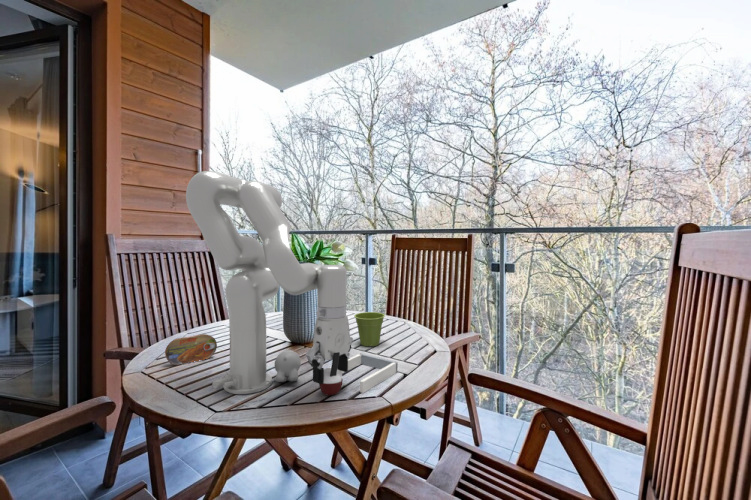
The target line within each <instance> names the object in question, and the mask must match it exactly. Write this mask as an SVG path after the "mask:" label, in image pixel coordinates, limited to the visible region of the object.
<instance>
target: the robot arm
mask: <svg viewBox="0 0 751 500" xmlns="http://www.w3.org/2000/svg"><path fill="white" fill-rule="evenodd" d="M185 201H186V205H187V208H188V211H189V213H190V215H191V217H192V219H193V221H194V222H195V223H196V225H197V226H198V229H199V230H200V232H201V234H202V237H203V239H204V241H205V243H206V245H207V247H208V249H209V251H210V253H211V255H212V257H213V259H214V261H215V263H216V264H217V265H218V267H219V268H221V269H222V270H225V271H235V270H236V271H237V270H240V272H238V273H236V274H234V275H232V276H231V277H230V278H229V279H228V281H227V283H226V285H225V300H226V304H227V309H228V319H229V321H228V322H229V323H228V326H229V370H228V371H226V372H225V375H224V376H223V378H219V379H216V380H213V382H212V385H211V386H212V387H213V389H218V388H219V389H220V387H223V389H224V391H225V392H227V393H229V394H233V395H248V394H254V393H257V392H261V391H263V390H266V389H268V387H270V386H271V385H272V384H273V377H272V376H271V375H270V374H269V373H267V316H266V311H265V308H264V305H263V302H265V301H267V300H271V299H272V298H274V297H275V296H276V295H277V294H278V292H279V289H280V288H281V289H282V290H283V291H284V292H285V293H287V294H289V295H291V296H298V295H303V294H304V293H308V292H312V291H314V290H315V291H316V290H317V291H316V292H317V299H316V302H317V305H316V309H317V310H316V312H315V314H316V316H317V317H316V319H315V323H314V329H313V330H314V331H313V339H312V340H313V343H312V345H313V346H312V347H311V348H310V349H309V350H308V351H307V352H306V353H305V357H306V358H307V362H308V363H309V365H310V367H311V368H312V382H314V383H316V384H318V385H319V384H323V383H324V369H325V368H324V367H323V366H324V364H325V361H326V360H327V361H331V360H333V354H334V353H337V352H339V353H340V355H339V362H338V370H340V371H344V373H347V372H349V370H348V359H349V357H350V355H351V354H350V351H351V349H352V345H353V340H354V338H353V337H351V333H350V322H349V317H348V315H347V276H348V275H347V273H348V272H347V269H346V266H344V265H339V264H324V265H323V264H319V263H312V262H304V263H300V262H299V260H298V259H297V258H296V256H295V254H294V252H293V250H292V248H291V245H290V242H289V235H290V233H291V229H292V228H291V223H290V222H289V220H288V219H287V217H286V216H285V214H284V212H283V211H282V209H281V208H282V205H283V204H282V203H283V199H282V194H281V192H280V191H279V190H278V189H277V187H275V186H272V185H270V184H267V183H264V182H260V181H256V180H255V181H254V180H252V181H249V180H245V179H241V178H238V177H235V176H232V175H228V174H225V173H221V172H218V171H213V170H205V171H203V170H202V171H200V172H196V174H195V175H193V176H192V177H191V179H190V180H189V182H188V184H187V186H186V191H185ZM221 205H223V206H231V207H235V208H240V209H242V210H243V212H244V214H245V216H246V217H247V218H248V220H249V222H250V223H251V224H252V226H253V228H254V229H255V231H256V233H257V234H258V236H259V237H260V239H261V241H262V243H261V242H260V241H259V240H258V239H256V238H254V237H251V236H246V235H241V234H240V233H239V231H238V230H237V228H236V227H235V224H234V222H233V220H232V218H231V216H229V214H228V213H227V212H226V211H225V210H224V209H223V208H222V206H221ZM319 359H320V360H319Z"/></svg>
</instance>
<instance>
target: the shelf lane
mask: <svg viewBox="0 0 751 500" xmlns="http://www.w3.org/2000/svg"><path fill="white" fill-rule="evenodd" d="M360 365H364V366H369V367H372V368H375V369H379V370H377V371H376V372H374V373H372V374H369V375H368V376H366V377H364V378H363V379H361V380H360V381H359V392H360V393H362V394H365V392H367V391H369V390H371V389H372V388H374V387H376V386H377V385H378V384H381V383H382V382H383V381H385V380H387V379H388V378H390V377H391V376H393V375H394V374H397V373H398V365H399V364H398V362H397V361H394V360H389V359H386V358H381V357H377V356H373V355H369V354H365V353H359V354H356V355H354V356H352V357H350V358H348V371H350V370H352V369H354V368H356V367H358V366H360ZM329 368H331V366H330V367H329ZM337 371H340V370H338V368H337ZM340 372H341V373H342V374H344V373H345V372H344V371H340Z"/></svg>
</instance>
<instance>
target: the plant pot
mask: <svg viewBox="0 0 751 500" xmlns="http://www.w3.org/2000/svg"><path fill="white" fill-rule="evenodd" d="M353 317H354V318H355V321H356V322H355V323H356V325H357V331H358V337H359V343H360V345H361V346H363V347H376V346H379V344H380V341H381V340H380V339H381V335H382V334H381V333H382V327H383V323H384V318H385V317H386V315H385V314H384V313H382V312H375V311H366V312H358V313H355V314H354V315H353Z"/></svg>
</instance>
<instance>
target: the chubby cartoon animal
mask: <svg viewBox="0 0 751 500" xmlns="http://www.w3.org/2000/svg"><path fill="white" fill-rule="evenodd" d="M301 361H302V360H301V358H300V356H299V354H298V353H297V352H296V351H294V350H283V351H282V352H280V353H279V354H278V355H277V356H276V358H275V360H274V369H275V371H276V375H275V379H274V380H275V381H276V382H277V383H285V382H286V381H288V382H297V381H298V379H299V370H300V368H301V364H302V362H301Z"/></svg>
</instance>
